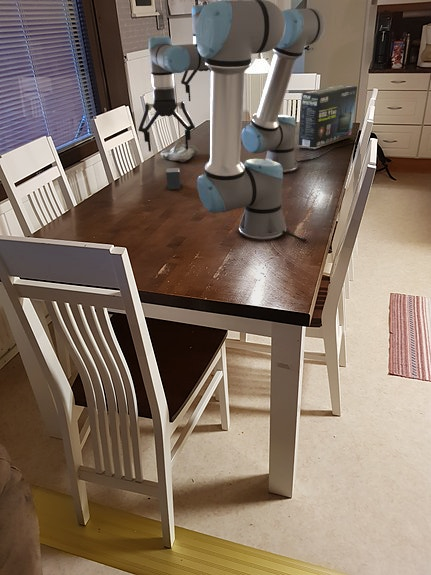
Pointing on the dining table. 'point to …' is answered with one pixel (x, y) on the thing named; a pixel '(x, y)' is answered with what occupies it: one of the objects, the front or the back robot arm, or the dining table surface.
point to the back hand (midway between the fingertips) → (204, 100)
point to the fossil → (179, 152)
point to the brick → (173, 178)
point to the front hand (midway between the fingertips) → (168, 149)
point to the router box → (326, 115)
